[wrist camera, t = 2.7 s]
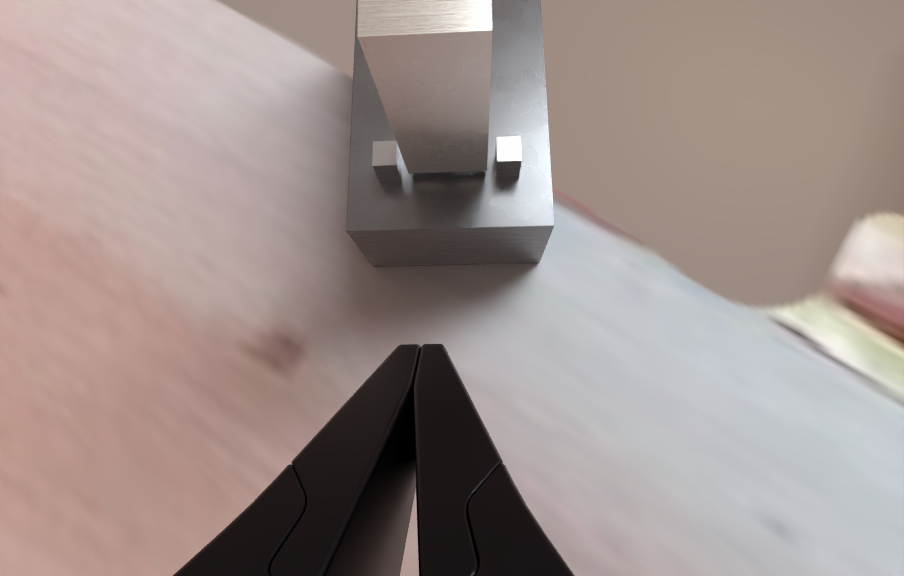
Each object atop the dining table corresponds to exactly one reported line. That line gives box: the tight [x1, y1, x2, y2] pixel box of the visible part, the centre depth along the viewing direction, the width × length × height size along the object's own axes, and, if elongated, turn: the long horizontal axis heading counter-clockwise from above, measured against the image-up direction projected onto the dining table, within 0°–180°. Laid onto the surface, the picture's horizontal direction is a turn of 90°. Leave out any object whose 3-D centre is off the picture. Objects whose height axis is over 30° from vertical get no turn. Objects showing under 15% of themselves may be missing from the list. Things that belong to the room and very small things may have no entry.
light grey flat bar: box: [357, 0, 492, 174], centre depth 15 cm, size 8×3×1 cm
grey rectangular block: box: [346, 0, 554, 267], centre depth 22 cm, size 13×8×7 cm, turn 0°
